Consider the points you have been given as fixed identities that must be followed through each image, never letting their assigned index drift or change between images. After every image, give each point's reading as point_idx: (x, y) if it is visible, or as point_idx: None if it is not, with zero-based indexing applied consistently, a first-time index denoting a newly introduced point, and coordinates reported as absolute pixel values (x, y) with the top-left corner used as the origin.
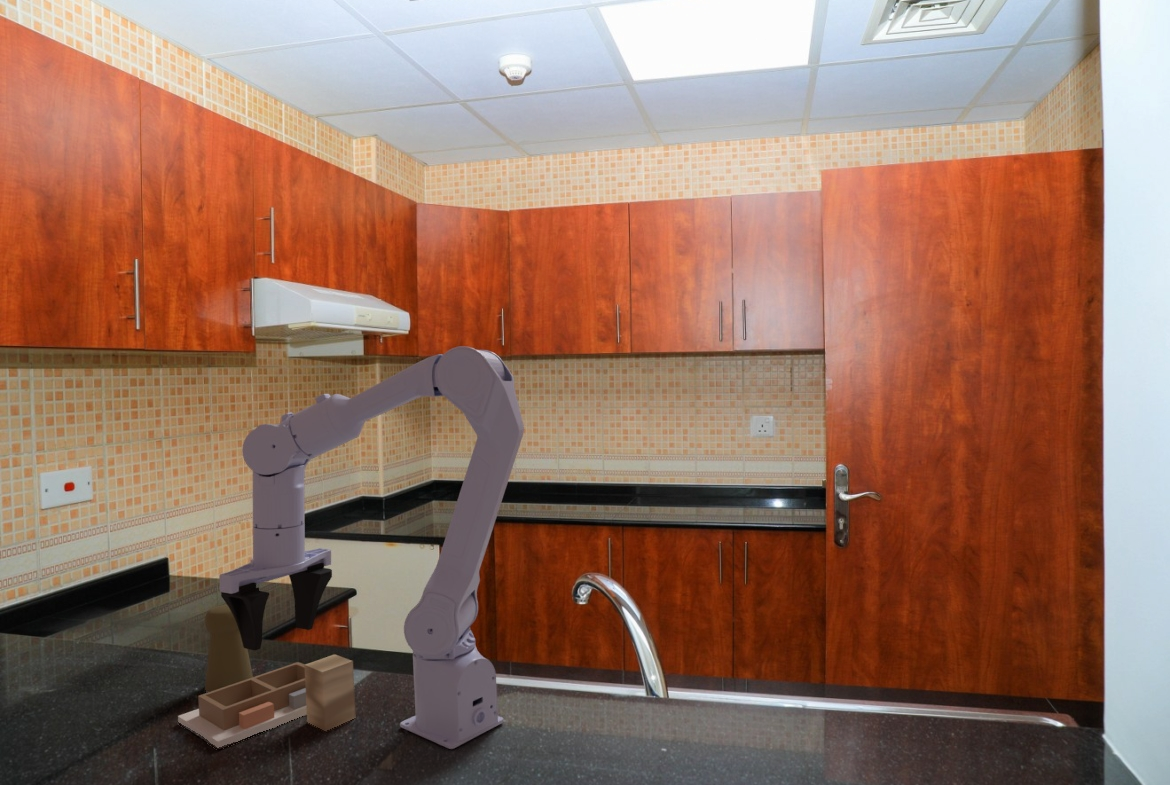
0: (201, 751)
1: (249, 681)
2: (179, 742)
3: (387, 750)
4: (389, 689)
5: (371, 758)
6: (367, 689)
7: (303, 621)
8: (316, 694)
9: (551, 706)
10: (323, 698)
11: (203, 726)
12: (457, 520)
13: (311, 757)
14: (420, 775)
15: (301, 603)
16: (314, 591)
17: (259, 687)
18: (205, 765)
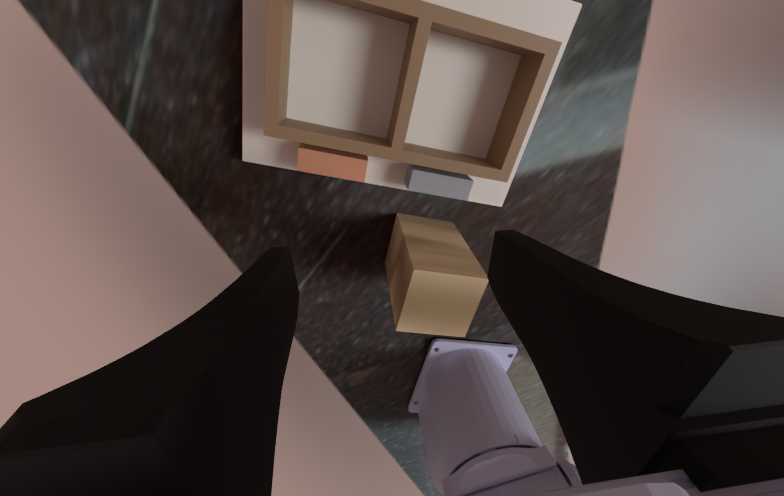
0: (225, 125)
1: (414, 16)
2: (210, 30)
3: (380, 359)
4: (546, 238)
5: (357, 358)
6: (540, 204)
7: (500, 273)
8: (395, 276)
9: (530, 420)
10: (390, 294)
11: (256, 56)
12: None
13: (321, 302)
14: (355, 411)
15: (541, 301)
16: (557, 408)
17: (405, 75)
18: (207, 184)
